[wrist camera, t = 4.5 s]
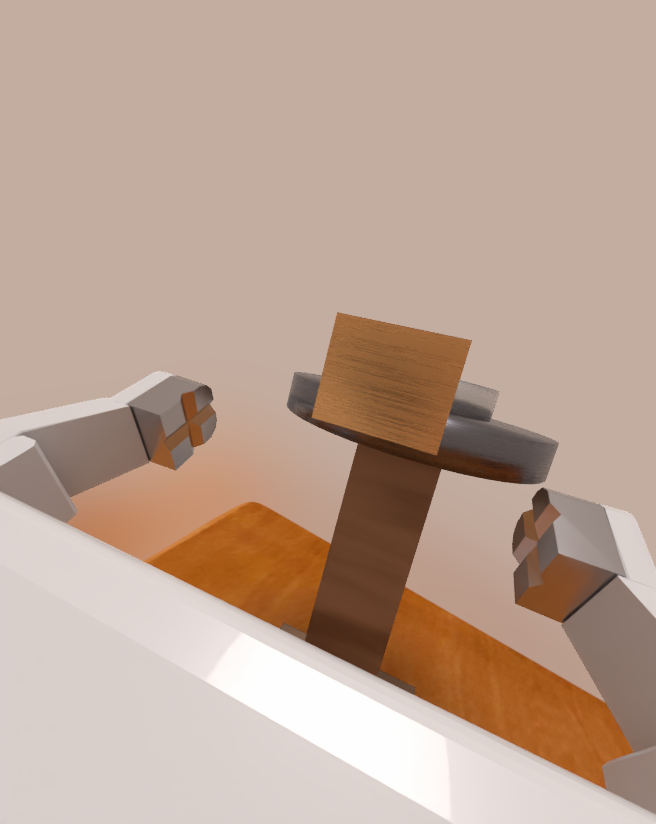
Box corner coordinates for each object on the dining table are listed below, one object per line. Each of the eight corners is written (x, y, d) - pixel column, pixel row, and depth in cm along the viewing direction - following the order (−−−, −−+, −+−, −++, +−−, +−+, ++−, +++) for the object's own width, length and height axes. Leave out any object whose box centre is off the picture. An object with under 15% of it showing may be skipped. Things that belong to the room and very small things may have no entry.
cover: (669, 526, 5) (729, 387, 5) (170, 374, 8) (188, 277, 8) (480, 414, 28) (488, 387, 28) (365, 384, 31) (372, 359, 31)
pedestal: (420, 989, 16) (624, 471, 12) (153, 792, 20) (243, 365, 17) (427, 695, 31) (519, 425, 27) (273, 619, 36) (335, 376, 32)
